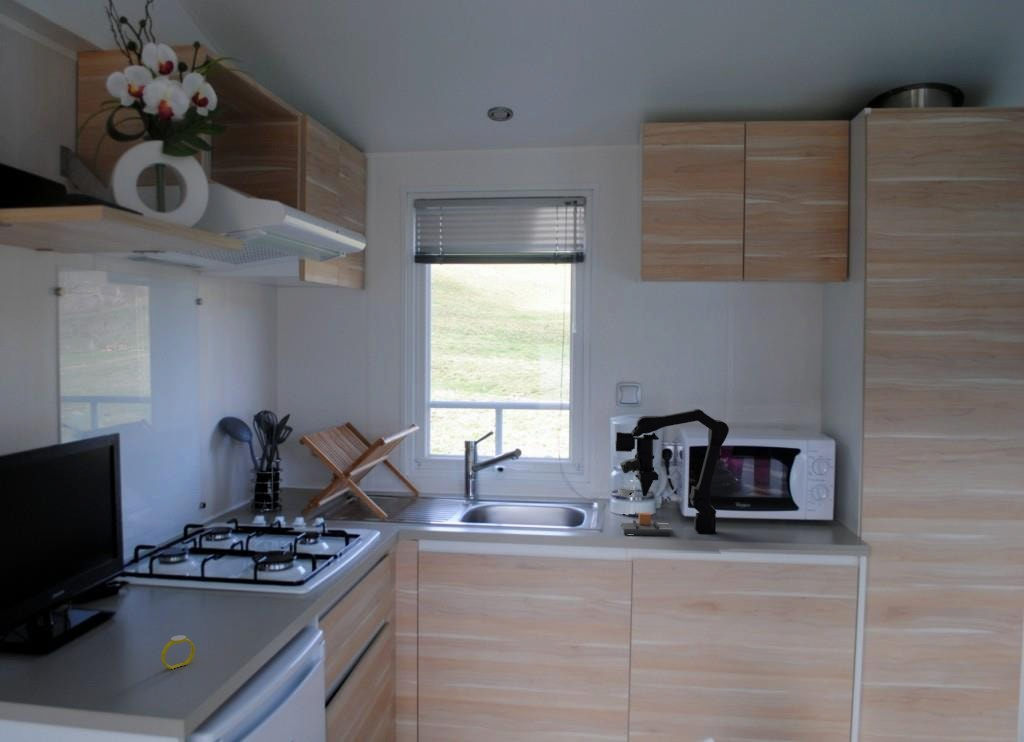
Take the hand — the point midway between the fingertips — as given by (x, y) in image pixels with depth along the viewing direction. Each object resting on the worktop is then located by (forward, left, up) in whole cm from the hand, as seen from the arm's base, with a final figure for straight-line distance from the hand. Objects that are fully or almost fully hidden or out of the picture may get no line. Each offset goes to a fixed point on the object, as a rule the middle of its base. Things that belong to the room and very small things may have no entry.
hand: (644, 496), depth 245 cm
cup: (+3, -24, -12) cm, 27 cm away
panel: (0, +3, -12) cm, 12 cm away
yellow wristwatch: (+108, +112, -12) cm, 156 cm away
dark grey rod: (0, +8, -12) cm, 14 cm away
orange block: (0, 0, -10) cm, 10 cm away
